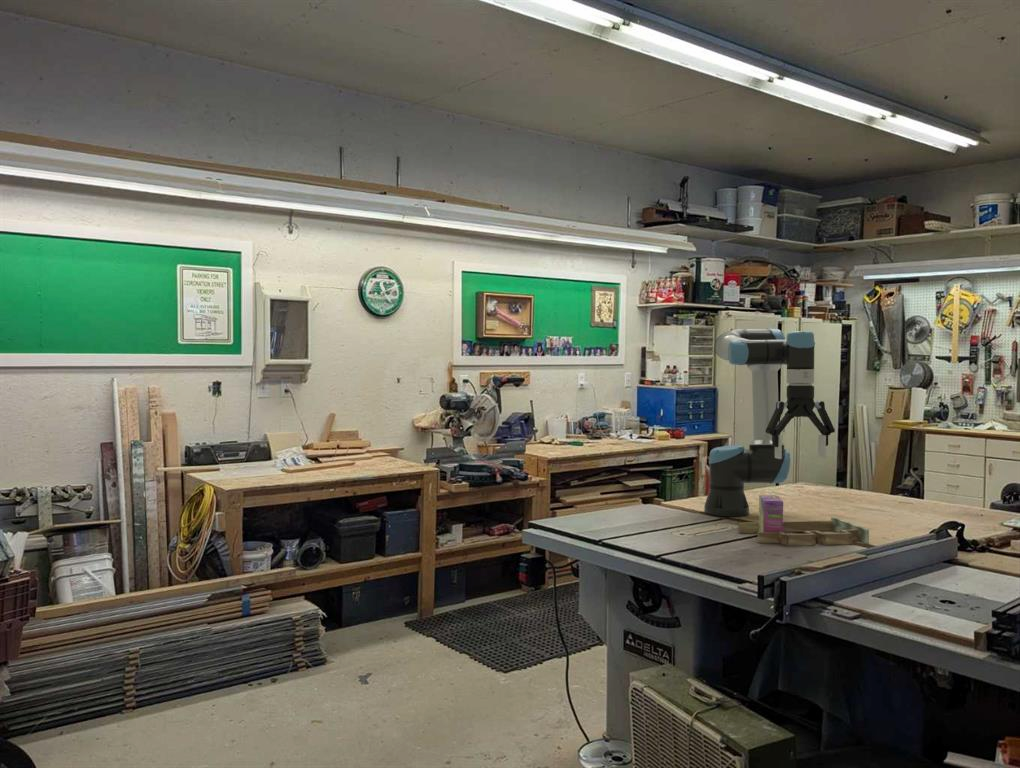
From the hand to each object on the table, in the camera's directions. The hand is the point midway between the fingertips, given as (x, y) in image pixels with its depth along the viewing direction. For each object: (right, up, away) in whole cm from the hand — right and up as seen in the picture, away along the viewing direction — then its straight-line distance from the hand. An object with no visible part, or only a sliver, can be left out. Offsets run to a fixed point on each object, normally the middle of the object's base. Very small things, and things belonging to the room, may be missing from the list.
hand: (800, 457), depth 223 cm
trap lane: (+2, -24, +5) cm, 25 cm away
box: (-7, -24, +6) cm, 26 cm away
